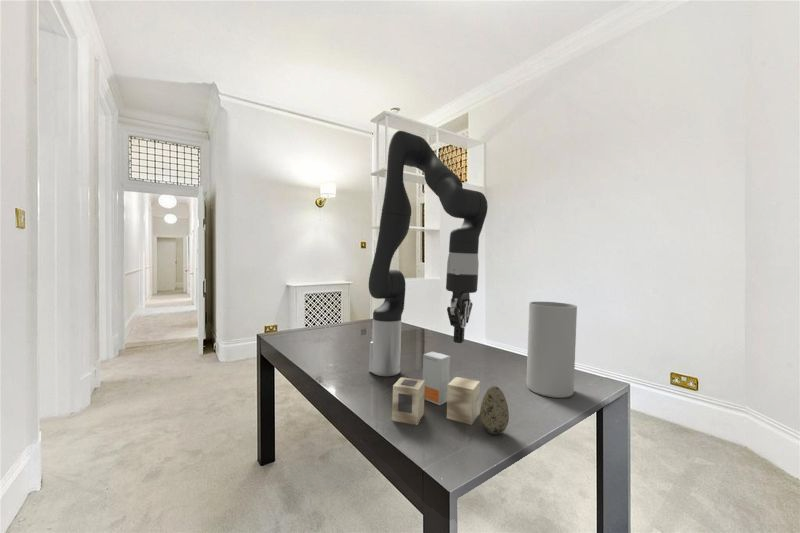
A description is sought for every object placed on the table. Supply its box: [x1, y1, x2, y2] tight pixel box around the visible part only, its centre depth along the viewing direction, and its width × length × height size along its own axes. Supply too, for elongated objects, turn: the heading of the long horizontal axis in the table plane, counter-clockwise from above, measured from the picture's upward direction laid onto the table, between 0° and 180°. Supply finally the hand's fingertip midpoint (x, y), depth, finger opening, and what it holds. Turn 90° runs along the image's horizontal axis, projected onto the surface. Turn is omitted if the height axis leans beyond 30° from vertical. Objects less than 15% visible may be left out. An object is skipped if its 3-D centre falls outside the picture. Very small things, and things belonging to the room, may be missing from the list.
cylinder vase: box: [526, 301, 578, 399], centre depth 96 cm, size 12×12×25 cm
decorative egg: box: [479, 385, 510, 435], centre depth 71 cm, size 6×6×10 cm
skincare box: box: [421, 351, 451, 406], centre depth 87 cm, size 6×4×12 cm
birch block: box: [446, 376, 481, 426], centre depth 78 cm, size 6×6×8 cm
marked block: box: [391, 376, 425, 426], centre depth 77 cm, size 6×6×8 cm
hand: (458, 342), depth 82 cm, fingers closed
